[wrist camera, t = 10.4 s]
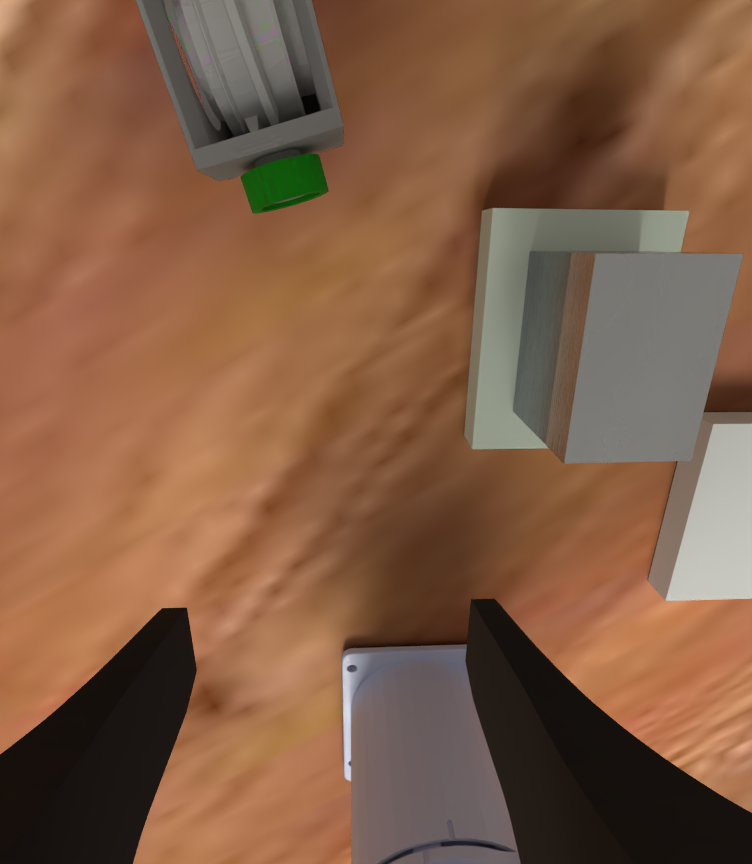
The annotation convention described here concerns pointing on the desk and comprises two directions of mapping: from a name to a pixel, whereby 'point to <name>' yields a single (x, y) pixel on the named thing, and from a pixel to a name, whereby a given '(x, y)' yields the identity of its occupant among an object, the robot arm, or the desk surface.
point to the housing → (621, 351)
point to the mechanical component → (250, 92)
